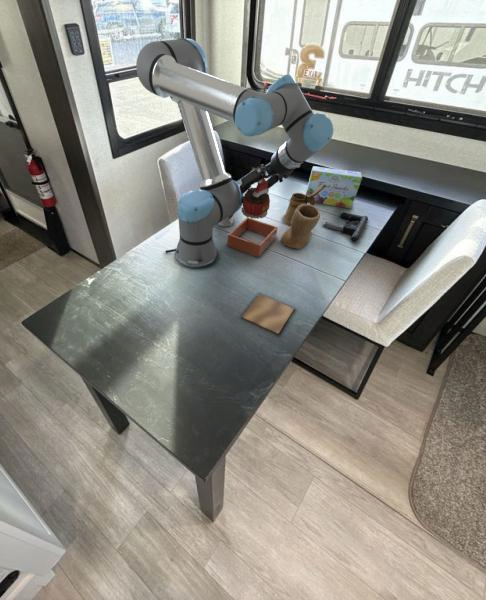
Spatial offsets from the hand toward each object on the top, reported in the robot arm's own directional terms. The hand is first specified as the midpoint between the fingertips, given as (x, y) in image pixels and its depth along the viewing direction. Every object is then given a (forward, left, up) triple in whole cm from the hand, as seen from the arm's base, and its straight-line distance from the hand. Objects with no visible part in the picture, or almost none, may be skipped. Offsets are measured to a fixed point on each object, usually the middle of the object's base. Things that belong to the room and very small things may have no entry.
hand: (254, 187), depth 111 cm
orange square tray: (+2, -2, -21) cm, 21 cm away
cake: (+2, -2, -9) cm, 9 cm away
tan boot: (+17, +9, -21) cm, 29 cm away
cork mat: (+24, -34, -21) cm, 47 cm away
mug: (-15, +6, -21) cm, 27 cm away
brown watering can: (+12, +23, -21) cm, 34 cm away
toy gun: (+31, +30, -21) cm, 48 cm away
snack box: (+17, +47, -21) cm, 55 cm away
